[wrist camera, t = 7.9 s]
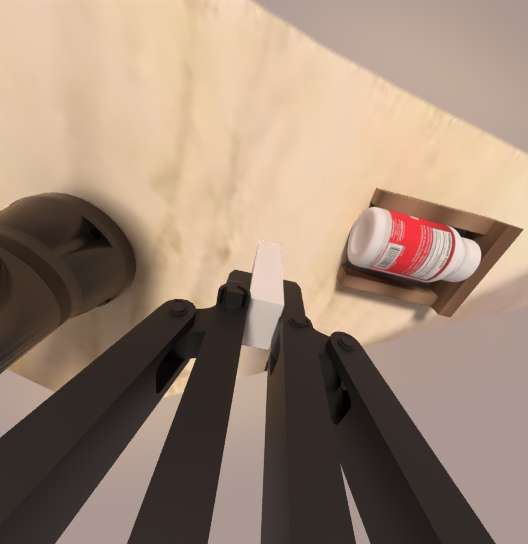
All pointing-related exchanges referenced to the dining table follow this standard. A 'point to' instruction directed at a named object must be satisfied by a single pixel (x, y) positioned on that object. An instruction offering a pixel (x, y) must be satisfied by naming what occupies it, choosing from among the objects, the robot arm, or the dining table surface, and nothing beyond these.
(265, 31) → the dining table surface
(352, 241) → the pill bottle
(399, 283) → the tray
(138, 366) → the robot arm
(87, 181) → the dining table surface
